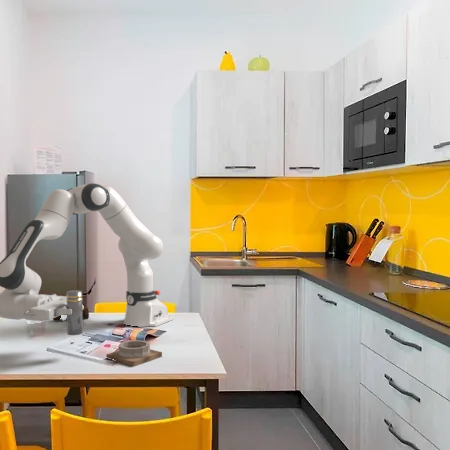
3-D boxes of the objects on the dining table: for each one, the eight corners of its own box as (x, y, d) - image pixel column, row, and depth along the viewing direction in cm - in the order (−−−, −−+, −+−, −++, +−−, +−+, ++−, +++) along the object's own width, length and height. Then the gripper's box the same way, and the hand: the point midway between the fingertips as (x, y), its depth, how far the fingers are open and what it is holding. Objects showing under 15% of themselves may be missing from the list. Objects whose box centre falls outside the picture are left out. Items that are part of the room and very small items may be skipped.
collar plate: (135, 349, 177) (134, 337, 177) (161, 356, 170) (161, 343, 170) (106, 358, 167) (106, 345, 167) (133, 366, 159) (133, 352, 159)
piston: (76, 330, 172) (75, 289, 171) (86, 332, 168) (85, 291, 168) (63, 333, 167) (62, 292, 167) (73, 336, 164) (72, 293, 164)
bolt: (53, 325, 220) (87, 320, 226) (54, 322, 215) (89, 317, 222) (51, 312, 222) (86, 308, 228) (52, 309, 218) (87, 305, 224)
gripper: (21, 304, 160) (61, 306, 157) (54, 292, 180) (90, 294, 177) (21, 324, 160) (61, 326, 157) (55, 310, 180) (90, 312, 177)
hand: (77, 309), depth 167 cm, fingers closed on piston, 5 cm apart
